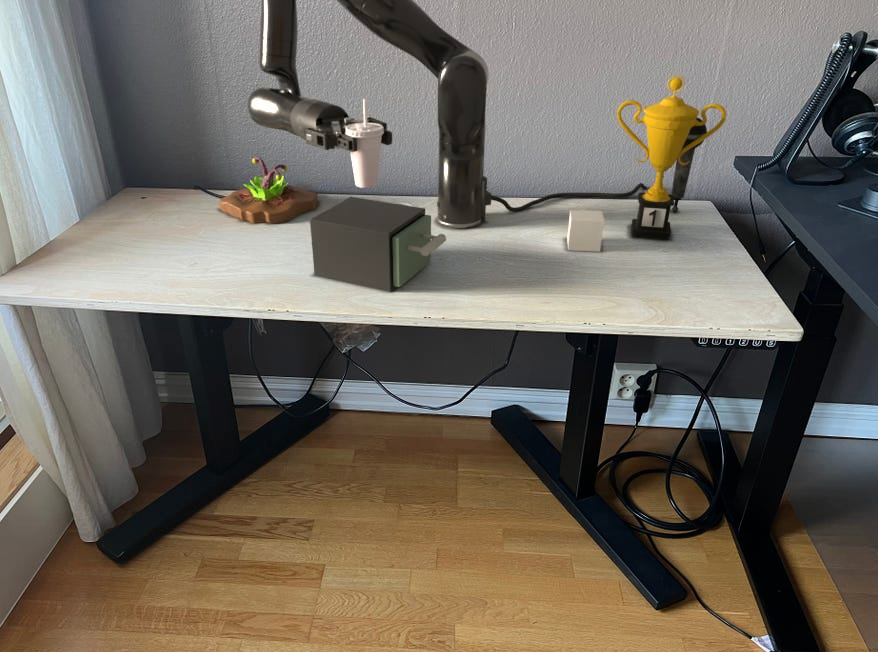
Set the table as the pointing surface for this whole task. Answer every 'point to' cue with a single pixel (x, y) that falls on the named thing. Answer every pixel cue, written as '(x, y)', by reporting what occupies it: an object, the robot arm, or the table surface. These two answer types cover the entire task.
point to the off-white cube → (585, 230)
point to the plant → (268, 198)
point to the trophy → (664, 154)
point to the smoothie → (366, 150)
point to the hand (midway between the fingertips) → (373, 142)
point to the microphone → (684, 170)
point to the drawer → (413, 249)
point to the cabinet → (359, 240)
